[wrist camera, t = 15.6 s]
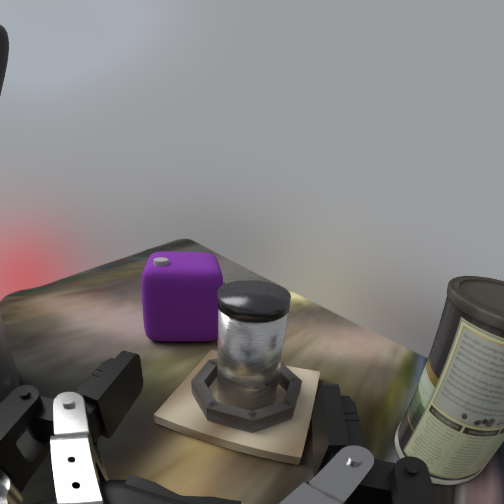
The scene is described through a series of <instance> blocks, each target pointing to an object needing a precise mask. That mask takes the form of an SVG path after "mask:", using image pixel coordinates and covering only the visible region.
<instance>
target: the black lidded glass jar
mask: <svg viewBox="0 0 504 504" xmlns="http://www.w3.org/2000/svg"><path fill="white" fill-rule="evenodd" d="M290 298H291V295H290V293H289V292H288V291H287V290H286V289H284V288H283V287H280V286H278V285H275V284H272V283H268V282H262V281H236V282H231V283H227V284H225V285H223V286H221V287H220V288H219V289H218V292H217V307H218V399H219V401H220V403H223V404H227V405H231V406H234V407H238V408H242V409H246V410H250V411H254V410H257V409H260V408H264V407H267V406H270V405H273V404H274V403H275V400H276V395H277V388H278V381H279V374H280V367H281V360H282V352H283V345H284V337H285V329H286V321H287V313H288V312H289V307H290Z"/></svg>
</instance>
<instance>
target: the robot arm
mask: <svg viewBox="0 0 504 504" xmlns="http://www.w3.org/2000/svg"><path fill="white" fill-rule="evenodd" d="M8 52H9V41H8V35H7V32H6V30H5V28H4V27H3V26H2V25H0V94H1V90H2V85H3V81H4V77H5V72H6V67H7V61H8ZM142 387H143V377H142V369H141V361H140V356H139V355H138V354H135V353H131V352H127V351H122V352H121V353H120V354H119V355H118V356H117V357H116V358H115V359H113V358H111V359H109V360H107V361H105V362H103V363H102V364H101V365H100V366H99V367H98V368H97V370H95V371H94V372H93V373H92V375H90V376H89V377H88V378H87V380H86V381H85V382H84V383H83V384H82V385H81V386H80V387H79V388H78V389H77V390H76V391H75V392H64V393H61V394H59V395H58V396H57V397H56V398H55V399H54V398H48V397H42V396H40V394H39V391H38V389H37V388H36V387H34V386H32V385H21V386H20V377H19V374H18V371H17V368H16V365H15V362H14V359H13V356H12V353H11V349H10V346H9V342H8V339H7V335H6V331H5V327H4V324H3V319H2V315H1V311H0V504H21V503H22V495H21V492H22V490H23V489H24V487H25V486H26V484H27V483H28V481H29V480H30V478H31V477H32V475H33V474H34V472H35V471H36V469H37V468H38V467H39V465H40V464H41V462H42V461H43V459H44V458H45V456H46V455H47V454H48V452H49V451H50V449H51V457H52V467H53V475H54V483H55V490H56V496H57V497H56V498H52V499H49V500H45V501H42V502H38V503H34V504H241V501H234V500H228V499H222V498H217V497H197V496H181V495H178V494H176V493H174V492H172V491H170V490H168V489H166V488H164V487H163V486H161V485H159V484H157V483H155V482H152V481H149V480H146V479H143V478H140V477H137V476H134V475H131V474H130V475H129V477H128V479H127V480H109V479H108V476H107V473H106V470H105V466H104V462H103V458H102V454H101V450H100V446H99V442H98V438H99V437H100V436H101V435H102V436H104V437H107V438H109V439H110V437H111V436H112V434H113V433H114V431H115V430H116V428H117V427H118V425H119V424H120V422H121V421H122V419H123V418H124V416H125V415H126V413H127V412H128V410H129V409H130V407H131V406H132V404H133V403H134V402H135V400H136V399H137V397H138V396H139V394H140V392H141V390H142ZM25 426H26V428H27V430H26V431H25V432H24V433H23V435H22V436H21V437H20V438H19V440H18V441H17V442H16V437H17V435H18V434H19V433H20V432H21V430H22V429H23V428H24V427H25ZM312 437H313V467H314V478H313V479H312V480H311V481H310V482H304V483H303V484H301V485H300V486H299V487H298V488H297V489H296V490H294V491H293V492H292V493H291V494H290V495H289V496H288V497H286V498H285V499H284V500H283V501H282V502H281V503H279V504H437V501H436V497H435V493H434V489H433V485H432V481H431V477H430V473H429V470H428V467H427V465H426V463H425V462H424V461H423V460H421V459H419V458H417V457H412V456H408V457H403V458H401V459H400V460H398V461H397V463H396V464H395V463H390V462H384V461H380V460H377V459H375V458H374V457H373V455H372V453H371V452H370V451H369V450H367V449H366V448H365V446H364V442H363V437H362V432H361V428H360V423H359V419H358V414H357V410H356V405H355V403H354V402H353V401H352V399H351V398H350V397H349V396H341V395H340V389H339V385H338V384H324V383H321V384H320V387H319V391H318V394H317V398H316V401H315V405H314V409H313V414H312Z"/></svg>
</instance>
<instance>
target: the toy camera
mask: <svg viewBox="0 0 504 504" xmlns="http://www.w3.org/2000/svg"><path fill="white" fill-rule="evenodd" d="M141 283H142V304H143V318H144V327H145V332H146V335H147V337H148V338H149V339H151V340H155V341H170V342H206V341H214V340H216V339H217V338H218V307H217V292H218V289H219V288H220V287H221V286H223V285H225V282H223V276H222V272H221V269H220V266H219V263H218V261H217V258H216V257H215V256H214V255H213V254H210V253H203V252H156V253H153V254H152V255H151V256H150V257H149V259H148V261H147V263H146V266H145V268H144V270H143V273H142V282H141Z"/></svg>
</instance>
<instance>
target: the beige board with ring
mask: <svg viewBox="0 0 504 504" xmlns="http://www.w3.org/2000/svg"><path fill="white" fill-rule="evenodd" d="M319 374H320V372H318V371H312V370H306V369H301V368H295V367H290V366H285V365H284V364H283V363H282V362H281V367H280V374H279V381H278V388H277V395H276V400H275V403H274V404H273V405H270V406H267V407H264V408H260V409H257V410H254V411H250V410H246V409H242V408H238V407H234V406H231V405H227V404H223V403H220V401H219V399H218V351H217V350H213V349H211V350H210V351H209V352H208V354H207V355H206V356H205V357H204V358H203V359H202V361H201V362H200V363H199V364H198V365H197V366H196V368H195V369H194V370H193V371H192V372H191V373H190V374H189V376H188V377H187V378H186V379H185V380H184V381H183V382H182V384H181V385H180V386H179V387H178V388H177V389H176V390H175V391H174V393H173V394H172V395H171V396H170V397H169V398H168V399H167V400H166V402H165V403H164V404H163V405H162V406H161V407H160V408H159V409H158V411H157V412H156V413H155V414H154V420H155V423H157V424H159V425H162V426H164V427H167V428H169V429H172V430H174V431H177V432H180V433H182V434H185V435H188V436H191V437H193V438H196V439H199V440H202V441H205V442H208V443H211V444H215V445H218V446H221V447H224V448H228V449H231V450H235V451H238V452H242V453H246V454H250V455H254V456H258V457H262V458H266V459H271V460H275V461H280V462H285V463H290V464H295V465H299V463H300V460H301V457H302V453H303V449H304V445H305V440H306V436H307V432H308V428H309V423H310V419H311V414H312V410H313V405H314V400H315V395H316V390H317V385H318V380H319Z"/></svg>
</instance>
